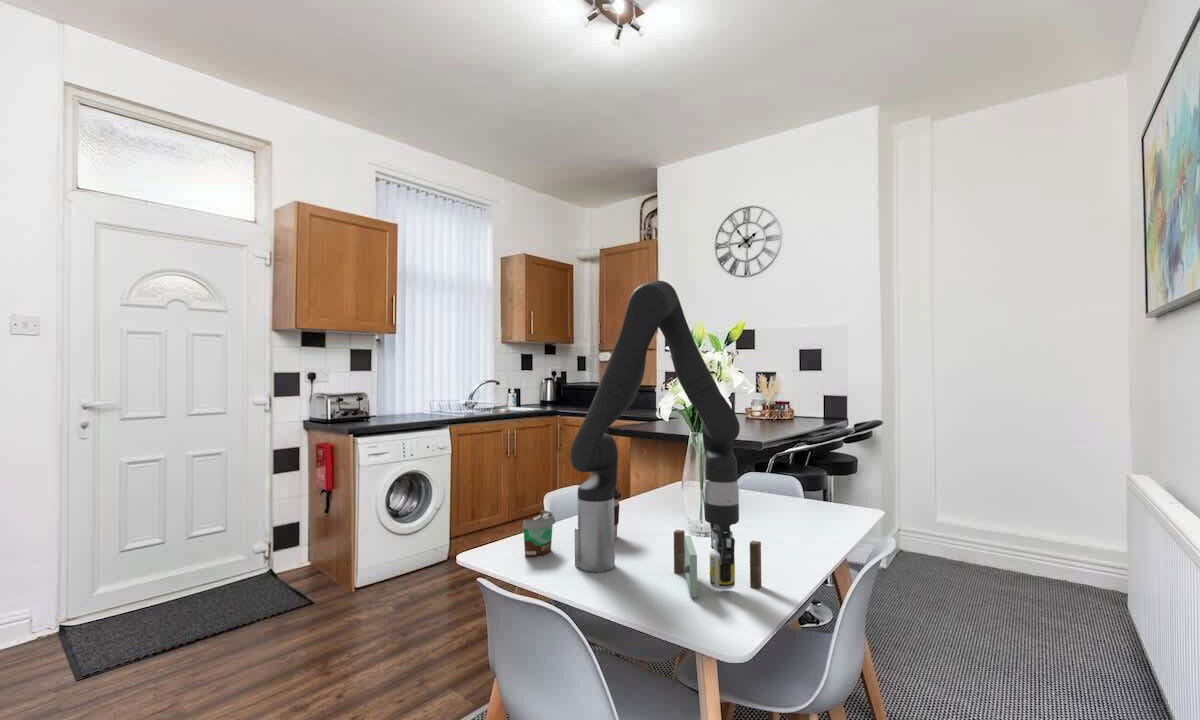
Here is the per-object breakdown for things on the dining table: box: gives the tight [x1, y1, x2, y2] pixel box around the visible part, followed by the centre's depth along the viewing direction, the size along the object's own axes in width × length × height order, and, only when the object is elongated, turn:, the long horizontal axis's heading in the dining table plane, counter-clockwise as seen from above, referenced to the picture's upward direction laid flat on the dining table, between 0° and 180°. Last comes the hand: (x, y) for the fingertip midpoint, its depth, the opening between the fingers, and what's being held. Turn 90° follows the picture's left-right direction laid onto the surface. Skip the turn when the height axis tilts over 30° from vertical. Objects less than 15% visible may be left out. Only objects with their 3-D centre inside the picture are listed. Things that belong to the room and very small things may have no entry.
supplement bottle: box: [709, 539, 736, 590], centre depth 123 cm, size 5×5×10 cm
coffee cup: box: [614, 487, 622, 540], centre depth 164 cm, size 10×10×15 cm
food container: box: [522, 509, 556, 558], centre depth 150 cm, size 12×6×10 cm, turn 161°
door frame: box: [673, 529, 762, 590], centre depth 130 cm, size 20×2×10 cm, turn 60°
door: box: [683, 535, 698, 598], centre depth 126 cm, size 14×3×9 cm, turn 176°
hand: (722, 575), depth 123 cm, fingers closed on supplement bottle, 5 cm apart
